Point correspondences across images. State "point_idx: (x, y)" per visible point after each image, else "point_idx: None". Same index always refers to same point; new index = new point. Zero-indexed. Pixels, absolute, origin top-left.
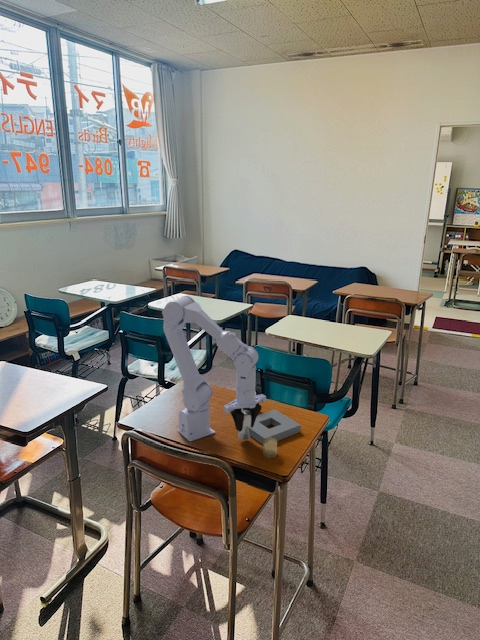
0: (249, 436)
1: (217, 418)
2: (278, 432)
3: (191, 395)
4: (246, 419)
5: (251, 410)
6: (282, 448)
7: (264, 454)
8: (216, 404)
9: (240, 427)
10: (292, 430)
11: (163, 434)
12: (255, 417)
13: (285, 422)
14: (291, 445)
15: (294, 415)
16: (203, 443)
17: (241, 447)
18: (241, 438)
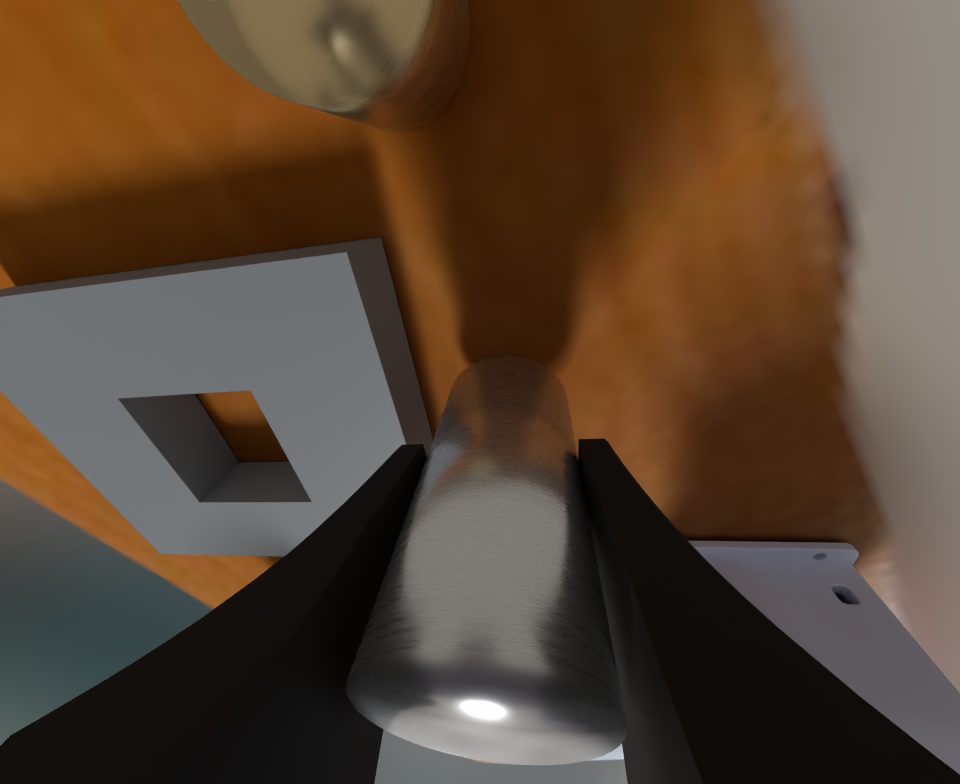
0: (484, 369)
1: None
2: (163, 292)
3: None
4: (530, 574)
5: (321, 733)
6: (210, 89)
7: (466, 3)
8: None
9: (624, 475)
10: (36, 289)
11: None
12: (318, 547)
13: (83, 406)
14: (102, 100)
15: (71, 470)
16: (790, 492)
17: (586, 317)
18: (562, 387)
